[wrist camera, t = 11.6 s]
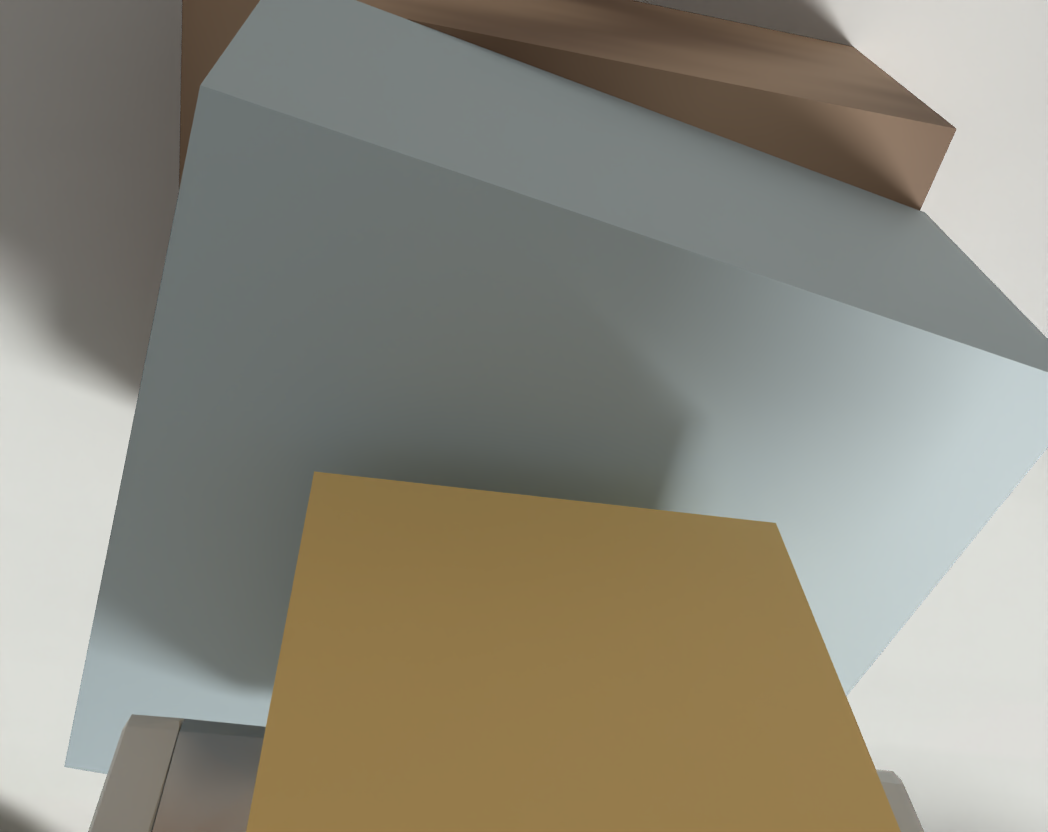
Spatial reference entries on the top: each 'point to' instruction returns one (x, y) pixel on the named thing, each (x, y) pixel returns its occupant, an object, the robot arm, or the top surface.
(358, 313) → the tower top block
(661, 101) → the tower base block
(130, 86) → the top surface
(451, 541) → the ochre block
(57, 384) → the top surface
